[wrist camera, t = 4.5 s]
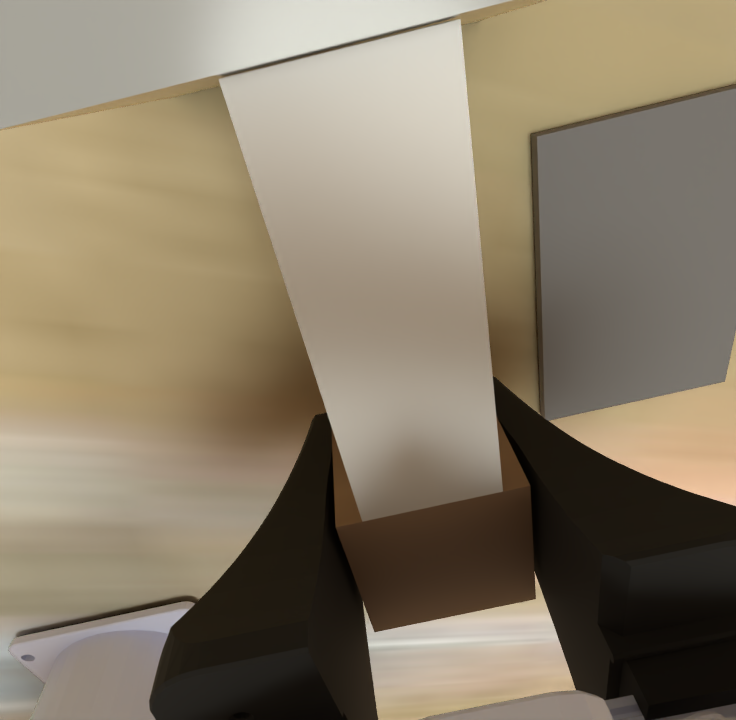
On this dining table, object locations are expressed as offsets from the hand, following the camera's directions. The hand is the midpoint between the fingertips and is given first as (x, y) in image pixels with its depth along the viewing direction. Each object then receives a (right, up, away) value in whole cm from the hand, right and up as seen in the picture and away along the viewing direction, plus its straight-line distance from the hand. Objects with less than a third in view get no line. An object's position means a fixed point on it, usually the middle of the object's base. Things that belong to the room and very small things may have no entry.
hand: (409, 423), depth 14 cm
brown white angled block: (-1, +4, 0) cm, 4 cm away
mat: (+7, +4, +1) cm, 8 cm away
